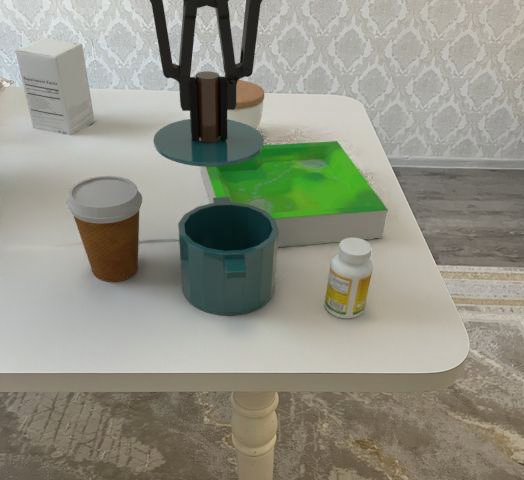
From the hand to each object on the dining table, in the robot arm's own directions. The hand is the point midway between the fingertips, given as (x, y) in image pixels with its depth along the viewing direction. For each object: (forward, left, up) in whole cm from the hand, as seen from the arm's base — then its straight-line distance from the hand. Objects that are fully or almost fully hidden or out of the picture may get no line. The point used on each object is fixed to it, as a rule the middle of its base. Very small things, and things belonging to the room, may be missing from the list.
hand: (208, 135), depth 73 cm
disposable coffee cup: (-14, 0, -19) cm, 23 cm away
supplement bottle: (+17, -12, -19) cm, 28 cm away
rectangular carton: (-25, +51, -19) cm, 60 cm away
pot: (+2, -6, -19) cm, 20 cm away
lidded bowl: (+8, +44, -19) cm, 49 cm away
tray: (+14, +16, -19) cm, 28 cm away
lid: (0, 0, -1) cm, 1 cm away
